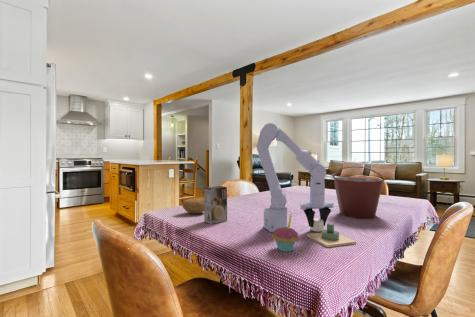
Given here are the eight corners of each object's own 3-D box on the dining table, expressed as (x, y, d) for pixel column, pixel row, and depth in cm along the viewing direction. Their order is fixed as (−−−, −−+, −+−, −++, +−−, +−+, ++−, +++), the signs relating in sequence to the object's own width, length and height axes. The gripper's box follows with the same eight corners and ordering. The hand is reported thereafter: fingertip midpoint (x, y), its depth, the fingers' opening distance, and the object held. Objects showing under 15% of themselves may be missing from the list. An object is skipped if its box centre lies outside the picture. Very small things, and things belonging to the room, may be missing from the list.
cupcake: (294, 244, 86) (294, 210, 86) (301, 254, 78) (301, 216, 78) (270, 244, 86) (270, 210, 86) (274, 254, 78) (274, 216, 77)
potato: (181, 212, 133) (180, 197, 133) (206, 210, 138) (206, 196, 138) (183, 216, 124) (183, 200, 124) (210, 214, 129) (210, 199, 129)
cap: (315, 231, 99) (315, 221, 99) (308, 228, 104) (308, 218, 103) (325, 230, 100) (325, 220, 100) (318, 227, 105) (318, 217, 105)
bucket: (324, 213, 130) (325, 166, 130) (343, 207, 145) (344, 164, 144) (375, 223, 112) (375, 168, 112) (391, 215, 127) (391, 166, 126)
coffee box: (219, 218, 121) (219, 185, 121) (227, 220, 116) (227, 186, 116) (203, 221, 116) (203, 187, 115) (211, 224, 111) (211, 188, 110)
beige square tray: (326, 247, 83) (326, 230, 83) (306, 236, 95) (306, 221, 95) (355, 243, 87) (356, 227, 87) (333, 233, 98) (333, 218, 98)
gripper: (307, 195, 96) (306, 230, 96) (338, 193, 100) (338, 227, 100) (297, 192, 102) (297, 225, 103) (327, 191, 107) (327, 222, 107)
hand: (316, 226), depth 102 cm, fingers closed on cap, 5 cm apart
